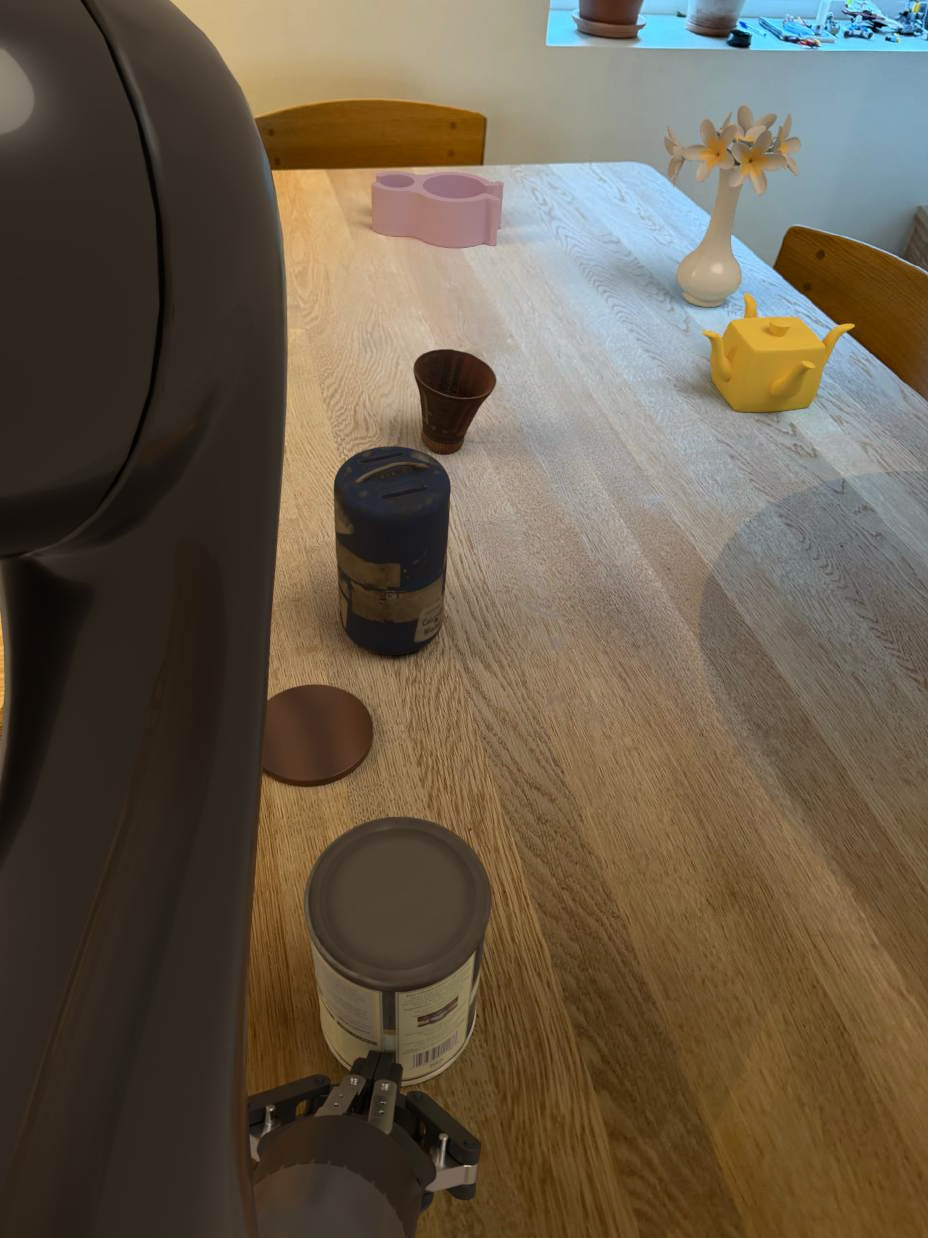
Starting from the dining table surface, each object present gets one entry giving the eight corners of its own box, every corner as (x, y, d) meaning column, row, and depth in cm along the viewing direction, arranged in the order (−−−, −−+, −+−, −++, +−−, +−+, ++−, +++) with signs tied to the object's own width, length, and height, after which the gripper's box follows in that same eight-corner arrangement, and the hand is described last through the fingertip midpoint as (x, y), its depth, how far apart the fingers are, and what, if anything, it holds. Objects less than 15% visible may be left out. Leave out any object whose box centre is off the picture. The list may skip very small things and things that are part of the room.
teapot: (684, 396, 119) (701, 324, 112) (726, 352, 128) (744, 283, 121) (797, 436, 114) (822, 363, 107) (832, 387, 123) (858, 317, 116)
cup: (482, 475, 105) (489, 395, 98) (403, 462, 106) (404, 382, 99) (496, 432, 111) (503, 353, 104) (422, 420, 112) (423, 342, 105)
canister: (335, 594, 90) (326, 432, 78) (435, 586, 92) (441, 425, 79) (345, 668, 83) (336, 503, 71) (452, 658, 85) (461, 494, 72)
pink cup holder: (366, 239, 148) (365, 193, 144) (381, 208, 157) (380, 164, 153) (494, 251, 147) (497, 206, 142) (502, 220, 156) (505, 176, 151)
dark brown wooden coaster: (281, 806, 73) (280, 800, 72) (229, 718, 79) (228, 712, 78) (395, 754, 77) (395, 747, 76) (338, 674, 83) (338, 668, 82)
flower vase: (625, 282, 142) (657, 97, 125) (740, 276, 145) (787, 96, 128) (656, 323, 133) (694, 131, 115) (777, 317, 136) (833, 128, 119)
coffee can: (383, 905, 67) (381, 786, 58) (506, 988, 63) (526, 875, 54) (284, 1024, 61) (263, 913, 51) (414, 1124, 57) (418, 1025, 47)
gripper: (492, 1197, 37) (501, 1021, 55) (165, 1141, 38) (276, 985, 56) (467, 1389, 37) (484, 1152, 55) (140, 1328, 38) (259, 1114, 56)
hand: (379, 1068), depth 55 cm, fingers closed
